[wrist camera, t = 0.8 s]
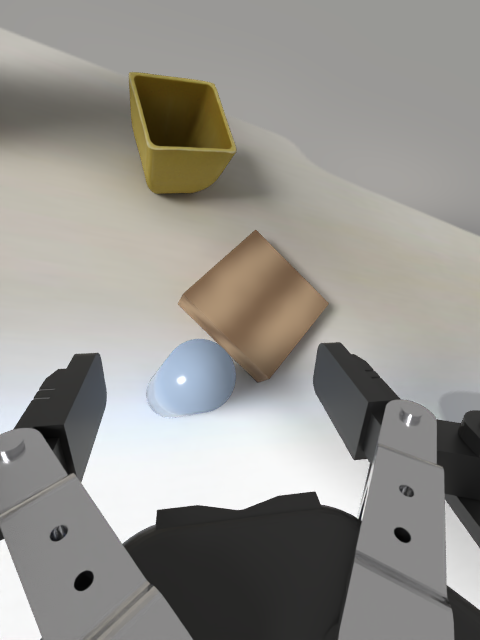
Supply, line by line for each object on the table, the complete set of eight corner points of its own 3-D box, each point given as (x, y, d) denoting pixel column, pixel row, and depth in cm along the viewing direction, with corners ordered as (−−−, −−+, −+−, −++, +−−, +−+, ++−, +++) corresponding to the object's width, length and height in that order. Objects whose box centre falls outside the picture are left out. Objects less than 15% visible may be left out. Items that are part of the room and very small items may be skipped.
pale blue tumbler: (135, 393, 31) (147, 375, 20) (171, 358, 33) (199, 324, 23) (172, 428, 31) (202, 429, 21) (205, 391, 34) (249, 373, 23)
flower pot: (195, 146, 42) (215, 80, 34) (213, 206, 41) (238, 151, 33) (124, 144, 39) (127, 69, 31) (140, 209, 37) (148, 148, 29)
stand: (177, 304, 35) (183, 293, 33) (246, 242, 41) (255, 229, 38) (257, 382, 36) (269, 378, 33) (314, 311, 41) (328, 303, 38)
